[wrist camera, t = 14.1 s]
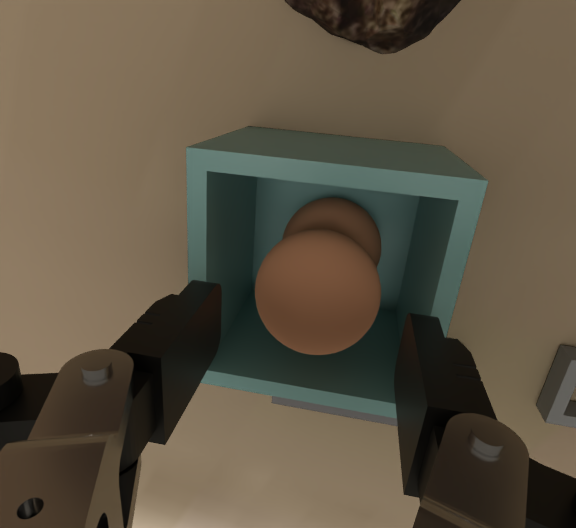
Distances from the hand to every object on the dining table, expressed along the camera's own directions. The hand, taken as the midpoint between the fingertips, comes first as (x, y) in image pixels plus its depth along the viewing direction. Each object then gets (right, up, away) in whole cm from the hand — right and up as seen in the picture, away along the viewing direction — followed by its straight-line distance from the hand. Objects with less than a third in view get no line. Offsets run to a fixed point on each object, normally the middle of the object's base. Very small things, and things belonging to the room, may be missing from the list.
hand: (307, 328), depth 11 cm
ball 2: (0, +1, +2) cm, 2 cm away
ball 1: (+1, +2, +6) cm, 6 cm away
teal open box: (+1, +3, +8) cm, 9 cm away
